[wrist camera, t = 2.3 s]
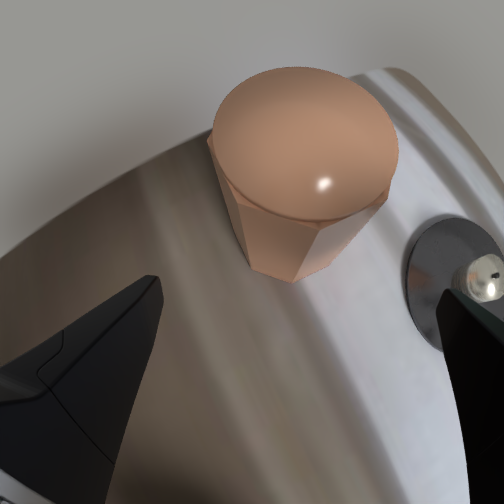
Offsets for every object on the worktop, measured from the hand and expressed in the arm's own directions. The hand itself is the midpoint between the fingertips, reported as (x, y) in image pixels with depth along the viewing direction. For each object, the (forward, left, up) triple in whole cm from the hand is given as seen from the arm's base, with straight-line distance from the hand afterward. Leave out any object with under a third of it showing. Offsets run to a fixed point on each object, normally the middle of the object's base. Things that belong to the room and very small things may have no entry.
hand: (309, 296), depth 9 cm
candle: (+14, -5, -12) cm, 19 cm away
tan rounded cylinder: (+3, +5, -12) cm, 14 cm away
